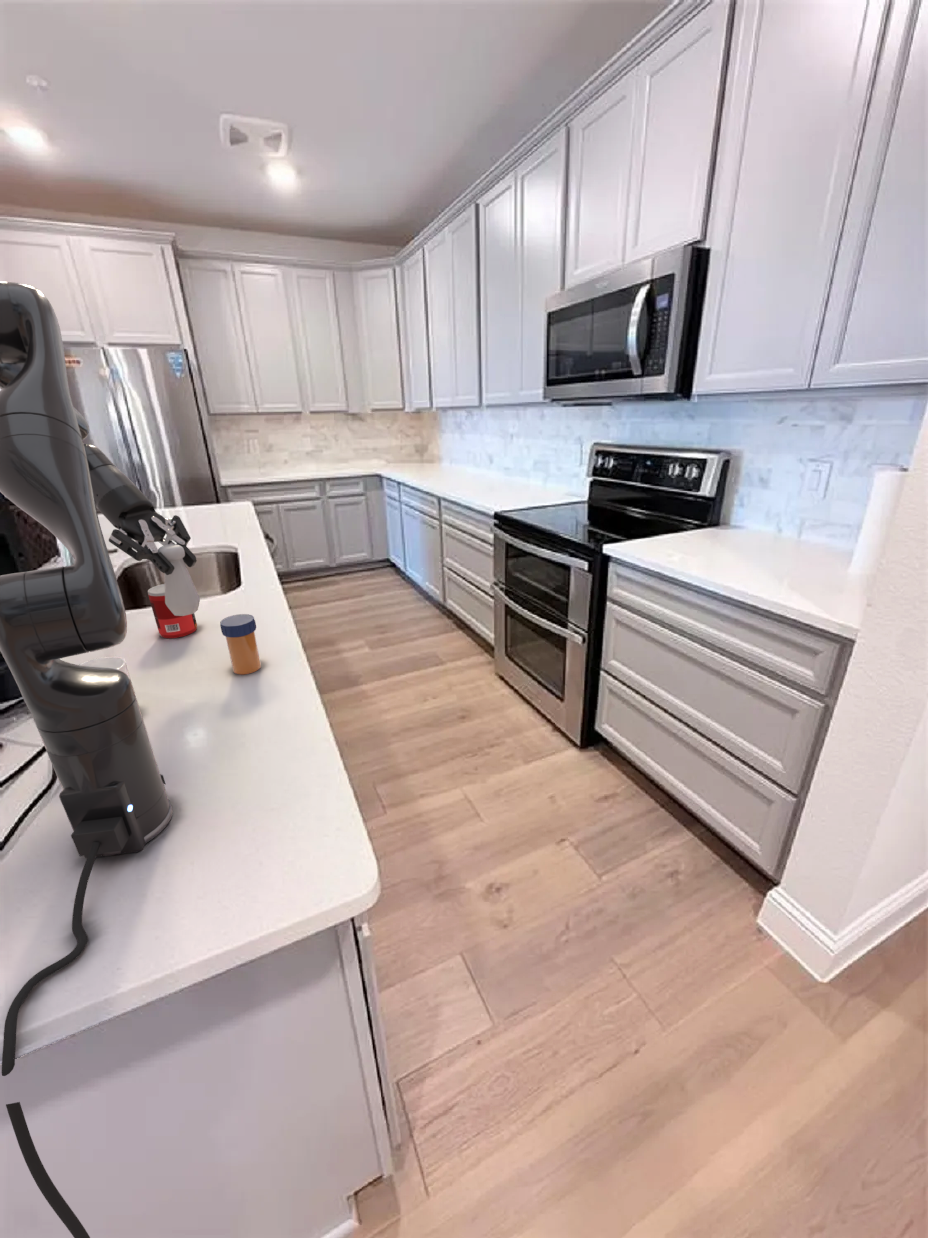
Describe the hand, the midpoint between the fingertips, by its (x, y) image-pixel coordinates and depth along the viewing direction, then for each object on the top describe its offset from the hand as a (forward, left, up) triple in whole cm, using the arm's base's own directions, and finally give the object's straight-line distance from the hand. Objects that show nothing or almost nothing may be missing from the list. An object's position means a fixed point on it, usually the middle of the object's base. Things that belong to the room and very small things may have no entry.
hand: (182, 567), depth 93 cm
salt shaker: (+1, +2, -9) cm, 9 cm away
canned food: (+21, +12, -21) cm, 32 cm away
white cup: (-16, +10, -21) cm, 29 cm away
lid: (-1, -8, -11) cm, 14 cm away
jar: (-1, -8, -21) cm, 23 cm away
